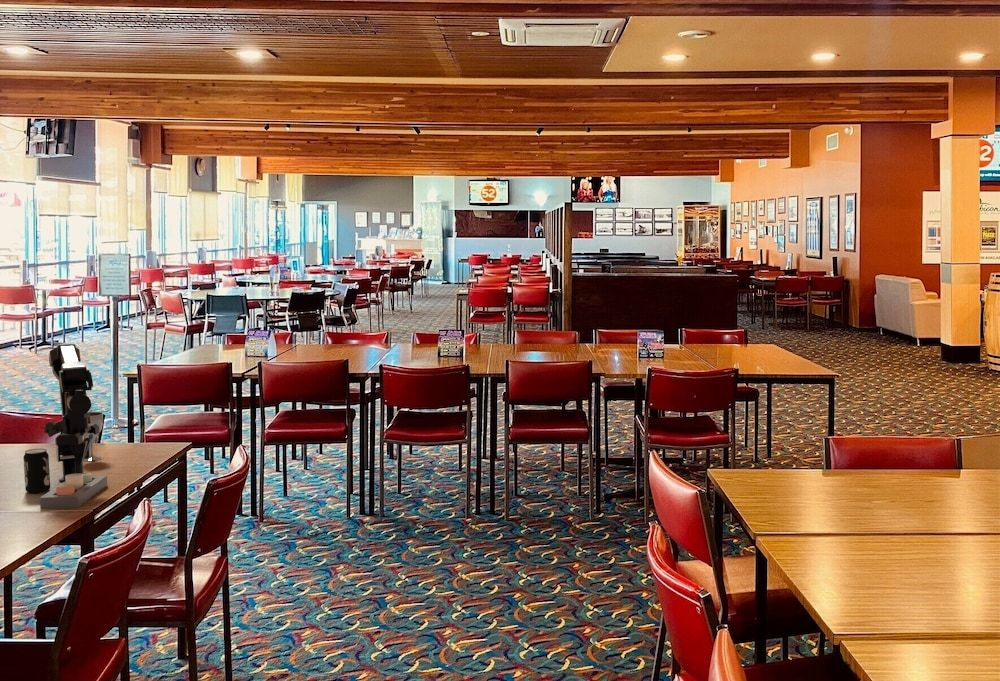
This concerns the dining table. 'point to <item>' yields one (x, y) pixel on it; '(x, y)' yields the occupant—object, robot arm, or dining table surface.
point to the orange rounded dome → (65, 490)
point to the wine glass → (93, 419)
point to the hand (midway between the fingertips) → (79, 464)
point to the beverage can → (36, 471)
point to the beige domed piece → (74, 480)
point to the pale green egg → (87, 477)
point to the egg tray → (75, 499)
